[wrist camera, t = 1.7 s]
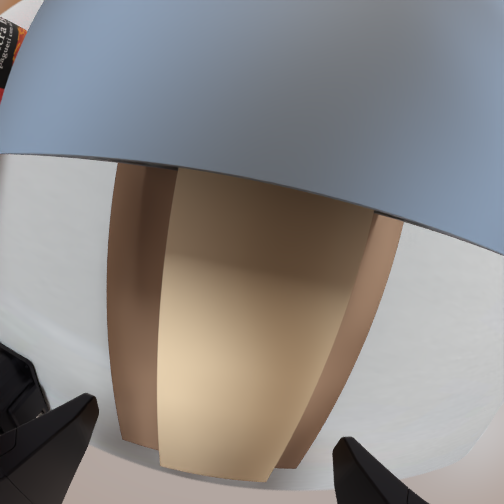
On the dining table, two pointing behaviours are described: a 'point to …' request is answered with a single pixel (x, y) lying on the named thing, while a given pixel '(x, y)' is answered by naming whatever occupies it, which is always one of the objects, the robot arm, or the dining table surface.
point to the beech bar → (247, 317)
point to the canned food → (8, 49)
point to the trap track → (266, 138)
